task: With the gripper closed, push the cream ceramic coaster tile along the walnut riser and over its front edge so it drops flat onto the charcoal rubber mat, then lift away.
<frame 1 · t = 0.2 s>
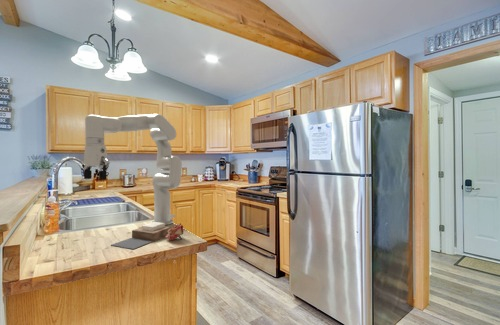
hand: (95, 179, 119), 31 cm above the counter, tool pointing down, fingers open, 9 cm apart
mat: (132, 243, 122), on the counter
riser: (152, 236, 134), on the counter
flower: (174, 240, 128), on the counter
tile: (153, 228, 135), point 4 cm above the counter, touching riser
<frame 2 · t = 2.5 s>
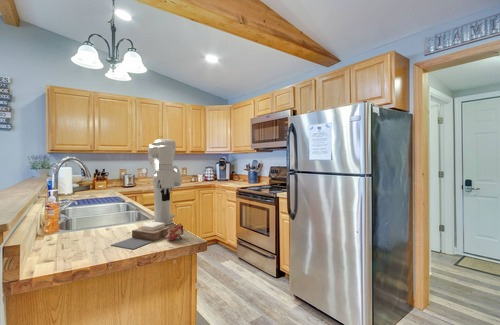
hand: (165, 200, 143), 17 cm above the counter, tool pointing down, fingers closed
nothing on the counter moved.
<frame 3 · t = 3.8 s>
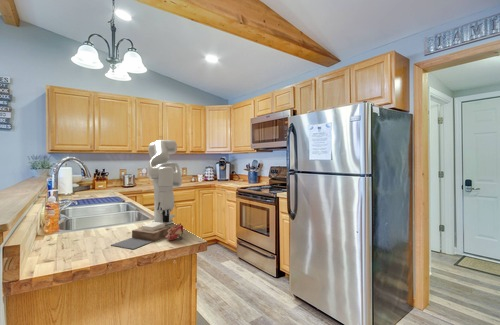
hand: (166, 222, 143), 5 cm above the counter, tool pointing down, fingers closed
nothing on the counter moved.
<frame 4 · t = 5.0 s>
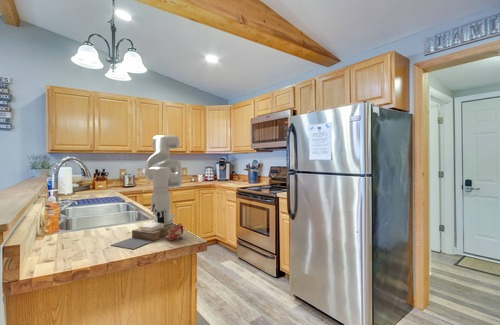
hand: (160, 224, 139), 5 cm above the counter, tool pointing down, fingers closed
tile: (152, 228, 134), point 4 cm above the counter, touching gripper
everything else where it was.
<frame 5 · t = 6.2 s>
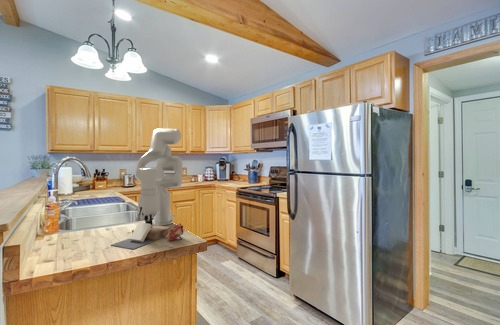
hand: (148, 228, 131), 5 cm above the counter, tool pointing down, fingers closed
tile: (141, 233, 127), point 4 cm above the counter, tilted 45°, touching gripper
everything else where it was.
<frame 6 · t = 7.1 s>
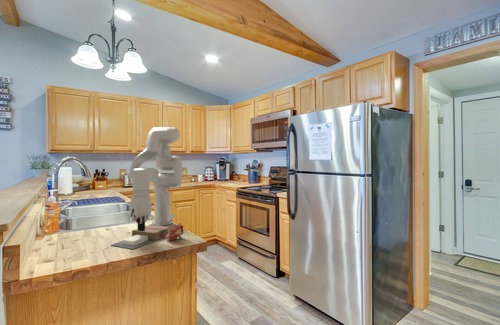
hand: (141, 230, 127), 5 cm above the counter, tool pointing down, fingers closed
tile: (135, 242, 123), resting on mat
everything else where it was.
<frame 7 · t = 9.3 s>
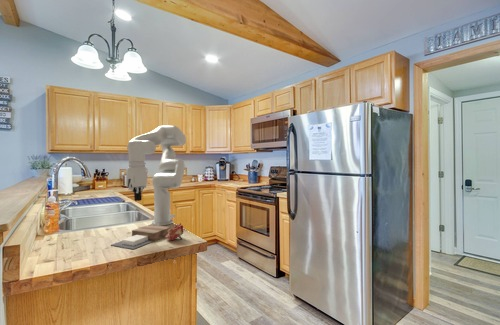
hand: (138, 200, 132), 19 cm above the counter, tool pointing down, fingers closed
nothing on the counter moved.
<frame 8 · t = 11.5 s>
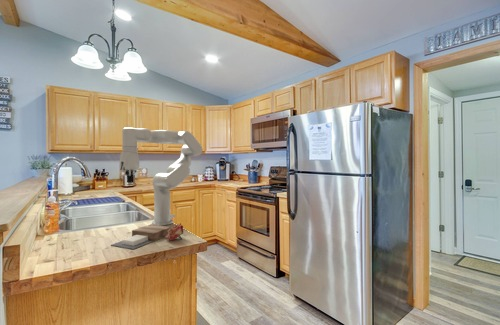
hand: (130, 182, 144), 27 cm above the counter, tool pointing down, fingers closed
nothing on the counter moved.
at the end: tile inside the target area (1.6 cm from its centre), resting on mat; tile resting on mat; tile touching mat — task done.
